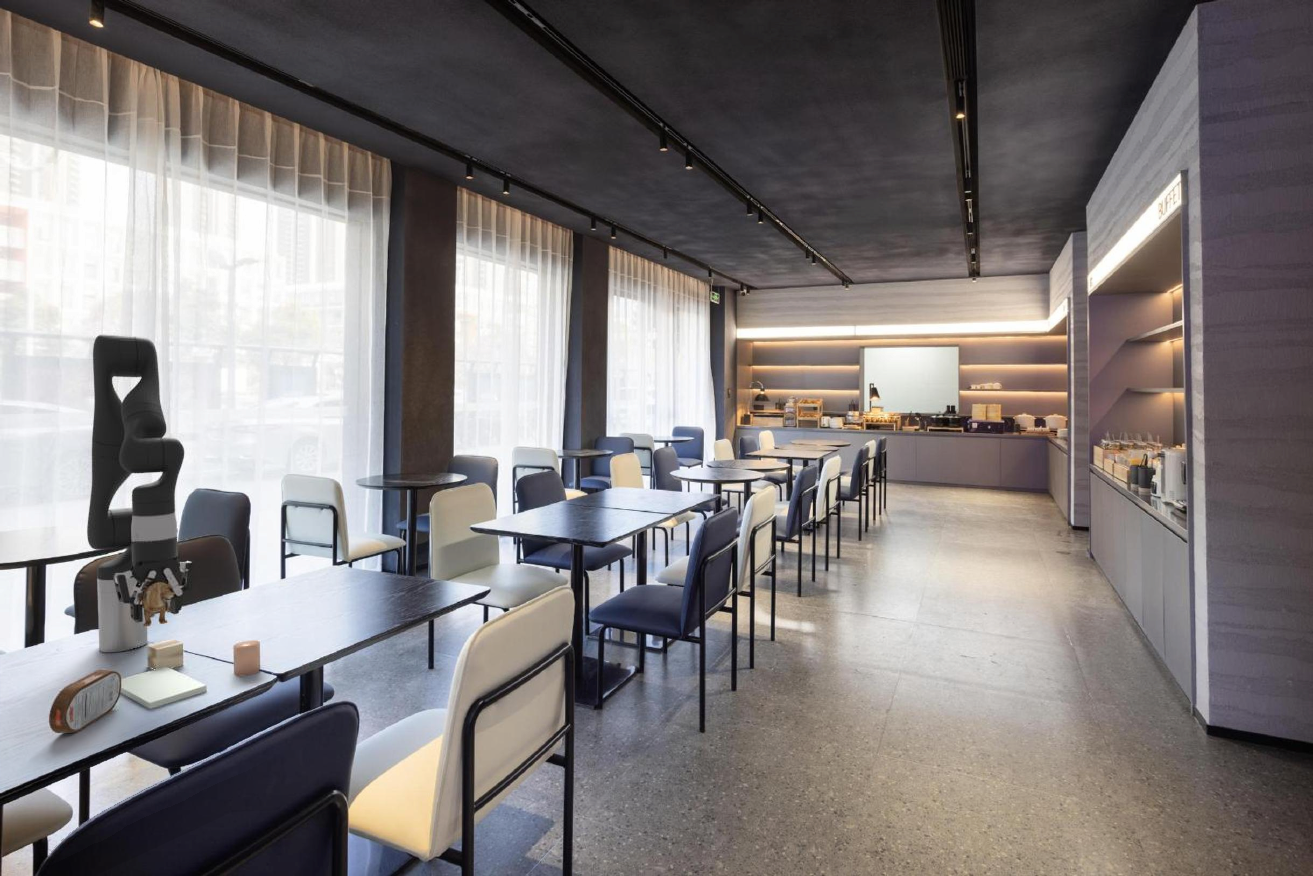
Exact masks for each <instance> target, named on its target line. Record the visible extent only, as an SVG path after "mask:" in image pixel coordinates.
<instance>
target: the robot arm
mask: <svg viewBox="0 0 1313 876" xmlns="http://www.w3.org/2000/svg"><path fill="white" fill-rule="evenodd" d="M92 365H93V366H92V369H93V390H94V391H93V392H94V393H93V395H94V397H93V398H94V401H93V402H94V404H93V405H94V407H93V408H94V409H93V424H92V433H91V435H92V437H91V490H90V499H89V507H88V515H87V516H88V517H87V526H86V527H87V529H86V534H87V541H88V542H87V543H88V544H89V546H90V547H91V549H94V550H96V551H97V550H102V551H103V550H110V549H119V548H126V549H125V550H124V552H123V553H121V554H119V555H118V556H116V557H114V558H112V559H110V560H108V561H106V562H103V563H101V564H99V565H98V567H97V569H96V579H97V580H96V583H97V612H98V615H97V616H98V647H99V648H98V650H99V651H100V652H101V653H102V652H103V653H118V652H125V651H130V649H131V650H134V649H133V648H135V649H137V647H138V648H140V646H141V647H143V646H145V645H146V644H147V643H148V642H147V641H148V626H143V624H144V623H145V616H144V608H143V607H142V599H143V596H144V593H145V591H146V589H147V588H148V587H149V586H150V585H152V584H154V583H157V582H163V583H165V584H166V586H167V587H168V589H169V591H171V592H173V593H174V596H173V597H171V601H170V612H169V613H170V614H172V615H177V614H179V613H180V611H181V610H182V608H183V606H182V599H183V598H182V596H183V594H184V593H186V592H190V591H191V590H192V589H193V584H194V583H193V582H194V576H195V568H196V563H195V562H193V561H189V560H186V561H179V559H178V555H179V553H178V550H179V549H178V533H179V532H178V521H177V516H176V501H175V500H176V499H175V497H176V496H175V495H176V487H177V481H178V479H179V474H180V471H181V468H182V465H183V463H184V458H185V448H184V446H183V443H181V441H180V440H179V439H177V438H175V437H164V436H165V435H166V433H167V424H166V420H165V416H164V412H163V409H162V404H161V395H160V375H159V374H160V373H159V363H158V353H157V347H156V346H155V343H154V342H153V340H152V339H150V338H148V337H143V336H132V335H120V334H105V333H104V334H99V335H97V337H96V338H95V339H94V343H93V349H92ZM114 377H117V378H118V377H119V378H140V379H139V381H138V382H137V384H135V386H134V387H132V389H130V391H129V392H128V393H127V394H126V395H125V397H124V398H123V400H121V398H120V397H119V395H118V394H117V391H116V389H115V387H114V383H113V378H114ZM151 473H153V474H154V473H161V476H160V477H159V478H158V479H157V480H155V481H153V482H149V483H144V484H141V485H137V486H136V487H134V488H133V489H132V492H131V507H125V508H114V509H113V508H112V509H110V506H111V504H112V501H113V499H114V496H115V495H116V493H117V491H118V490H119V489H120V488H121V487H122V485H123V484H124V483H125V481H127V480H128V479H129V477H130V476H131V475H132V474H151ZM178 570H179V571H180V573H181V579H180V584H179V582H178V581H177V579H176V577H175V574H176V573H177V572H178Z"/></svg>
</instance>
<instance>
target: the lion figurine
mask: <svg viewBox="0 0 1313 876" xmlns="http://www.w3.org/2000/svg"><path fill="white" fill-rule="evenodd" d="M173 596H174V593H173V592H171V591H169V589H168V587H167V586H166V584H165V583H163V582H157V583H154V584H152V585H150V586H149V587H148V588H147V589H146V591H145V593H144V596H143V599H142V607H143V608H144V616H145V623H144V624H143V626H147V627H150V626H151V625H152V619H151V618H154V617H155V616H156V613H158V612H159V615H158V616H159V617H158V622H159V625H163V624H167V623H168V620H166V613H171V612H170V601H171V597H173ZM166 603H167V609H166Z"/></svg>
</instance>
